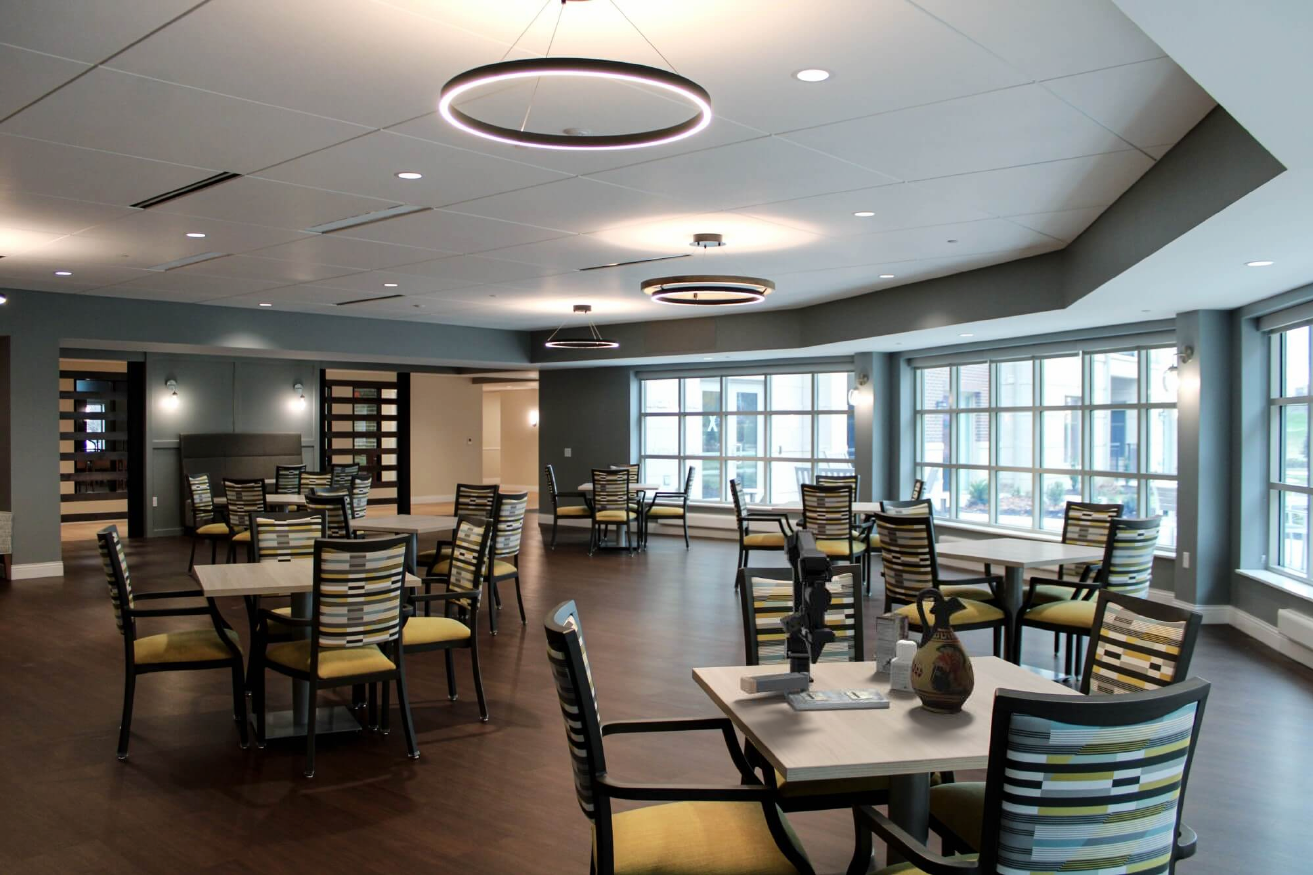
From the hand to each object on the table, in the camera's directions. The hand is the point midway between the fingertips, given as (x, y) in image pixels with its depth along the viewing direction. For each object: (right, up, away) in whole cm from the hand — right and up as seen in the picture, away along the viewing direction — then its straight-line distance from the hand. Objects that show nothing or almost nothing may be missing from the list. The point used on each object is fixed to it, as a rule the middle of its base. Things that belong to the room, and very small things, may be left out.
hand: (813, 663), depth 245 cm
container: (+28, -10, +15) cm, 34 cm away
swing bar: (-9, -10, +6) cm, 14 cm away
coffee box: (+29, -11, +36) cm, 47 cm away
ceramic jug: (+31, -10, -4) cm, 33 cm away
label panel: (+6, -10, +1) cm, 12 cm away
